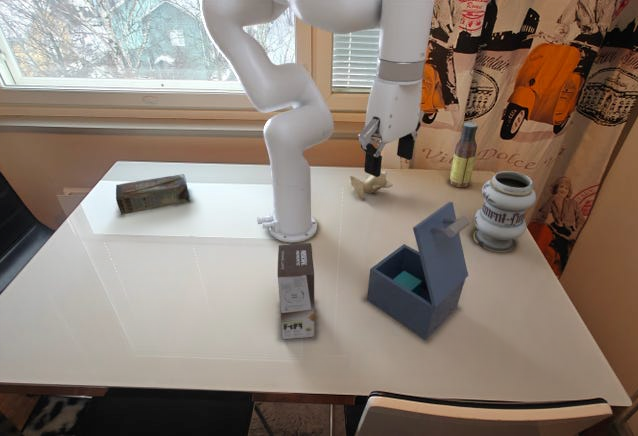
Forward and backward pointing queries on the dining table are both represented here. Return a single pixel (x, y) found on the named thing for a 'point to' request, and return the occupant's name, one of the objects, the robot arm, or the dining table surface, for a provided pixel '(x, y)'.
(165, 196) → the beverage carton
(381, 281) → the compartment
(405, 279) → the block
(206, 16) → the robot arm
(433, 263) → the lid
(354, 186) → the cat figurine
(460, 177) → the sauce bottle
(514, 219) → the apothecary jar
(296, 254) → the coffee box
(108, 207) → the dining table surface
